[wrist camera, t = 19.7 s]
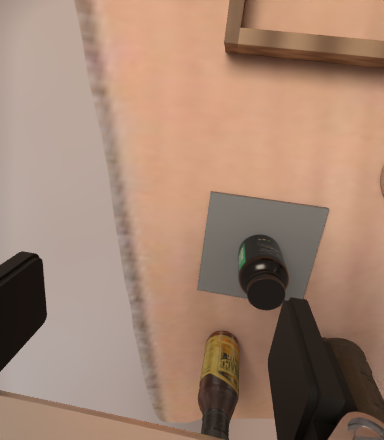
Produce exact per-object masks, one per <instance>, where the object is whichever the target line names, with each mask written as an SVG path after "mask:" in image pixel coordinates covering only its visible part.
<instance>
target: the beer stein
mask: <svg viewBox="0 0 384 440" xmlns="http://www.w3.org/2000/svg"><path fill="white" fill-rule="evenodd" d="M322 340H323V341H328V342H329V343H330V344H331V346H332V348H333V351H334V353H335V355H336V358H337V360H338V363H339V365H340V368H341V370H342V372H343V375H344V377H345V380H346V382H347V385H348V387H349V390H350V392H351V394H352V397H353V399H354V402H355V404H356V407H357V409H358V411H359V412H361V413H365V414H368V415H370V416H373V417H374V418H376V419H378V420H379V421H381V422H382V423H384V400H383V398H382V396H381V394H380V392H379V389H378V387H377V385H376V383H375V381H374V379H373V376H372V371H371V369H370V367H369V365H368V363H367V362H366V357H365V355H364V353H363V351H362V350H361V349H360V347H359V346H357V345H356V344H354V343H353V342H350V341H348V340H346V339H339V338H329V339H326V338H322Z"/></svg>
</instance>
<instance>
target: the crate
mask: <svg viewBox="0 0 384 440" xmlns="http://www.w3.org/2000/svg"><path fill="white" fill-rule="evenodd" d="M244 5H245V0H230V1H229V9H228V17H227V24H226V32H225V40H224V45H225V51H226V52H231V53H241V54H251V55H261V56H271V57H281V58H290V59H300V60H310V61H320V62H330V63H340V64H350V65H360V66H370V67H380V68H384V41H378V40H367V39H356V38H345V37H335V36H324V35H313V34H302V33H292V32H281V31H270V30H259V29H249V28H241V26H242V19H243V12H244Z"/></svg>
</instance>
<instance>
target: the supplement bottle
mask: <svg viewBox="0 0 384 440" xmlns="http://www.w3.org/2000/svg"><path fill="white" fill-rule="evenodd" d="M238 279H239V284H240V287H241V289H242V290H243V292H244V293H245V294H246V295H247V298H248V300H249V302H250V303H251V304H252V305H253V306H254V307H256V308H258V309H262V310H272V309H275V308H277V307H278V306H280V305H281V304H282V303H283V301H284V299H285V295H286V293H285V290H286V289H287V286H288V283H289V274H288V270H287V267H286V264H285V261H284V258H283V255H282V252H281V249H280V247H279V245H278V243H277V242H276V241H275V240H274V239H273V238H271V237H269V236H267V235H261V234H258V235H253V236H250V237H248V238H246V239H245V240H244V241H243V242H242V243H241V245H240V247H239V250H238Z"/></svg>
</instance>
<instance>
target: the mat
mask: <svg viewBox="0 0 384 440" xmlns="http://www.w3.org/2000/svg"><path fill="white" fill-rule="evenodd" d="M328 212H329V209H328V208H326V207H319V206H312V205H305V204H297V203H290V202H283V201H276V200H269V199H262V198H255V197H248V196H241V195H234V194H227V193H220V192H213V191H211V194H210V201H209V208H208V215H207V223H206V230H205V237H204V245H203V252H202V259H201V267H200V274H199V281H198V288H197V290H201V291H206V292H212V293H218V294H224V295H230V296H235V297H241V298H247V295H246V294H245V293H244V292H243V290H242V289H241V287H240V284H239V279H238V250H239V247H240V245H241V243H242V242H243V241H244V240H245V239H246V238H248V237H250V236H253V235H258V234H261V235H267V236H269V237H271V238H273V239H274V240H275V241H276V242H277V243H278V245H279V247H280V249H281V252H282V255H283V258H284V261H285V264H286V267H287V270H288V274H289V283H288V286H287V289H286V290H285V293H286V295H285V299H284V300H287V301H288V300H289V298H290V297H293V298H299V299H303V297H304V294H305V291H306V287H307V284H308V280H309V277H310V274H311V270H312V267H313V263H314V260H315V257H316V253H317V250H318V246H319V243H320V239H321V236H322V233H323V229H324V226H325V222H326V219H327V216H328ZM247 299H248V298H247ZM282 304H283V303H282Z"/></svg>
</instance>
